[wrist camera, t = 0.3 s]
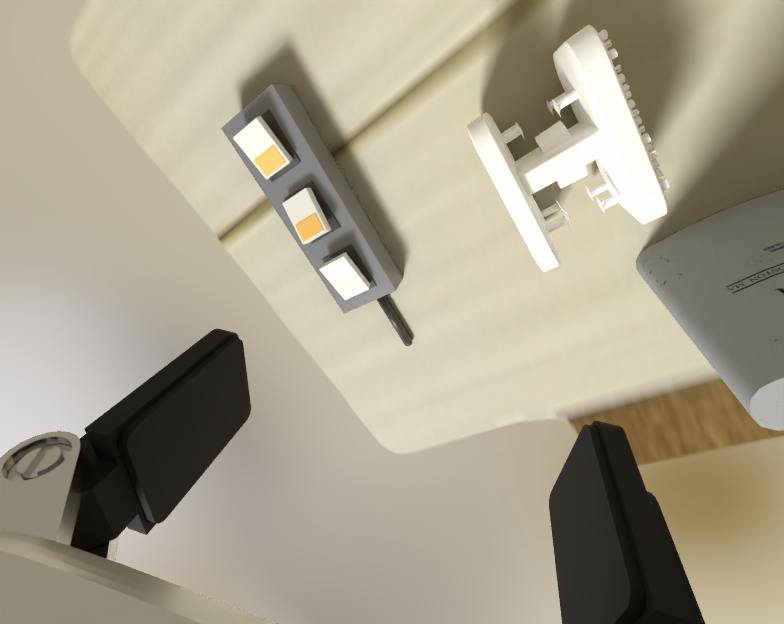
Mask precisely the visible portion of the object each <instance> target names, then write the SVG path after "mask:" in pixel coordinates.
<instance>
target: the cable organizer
mask: <svg viewBox="0 0 784 624" xmlns="http://www.w3.org/2000/svg"><path fill="white" fill-rule="evenodd" d="M606 39H608V33H607V31H606V30H605V29H603V30H602V31H601V32H599V33H598V32H597V31H596V30H595V29H594V28H593V27H592V26H591V25H587V26H586V27H584V28H583V29H582V30H580V31H579V32H577V33H576V34H575V35H573V36H572V37H570V38H569V39H568V40H566V41H565V42H564V43H563V44H562V45H561V46H560V47H559V48H558V49H557V50H556V51H555V52H554V54H553V60H554V65H555V68H556V72H557V74H558V77H559V80H560V82H561V84H562V87H563V89H564V91H565V92H564V93H562V94H561V95H559V96H558V97H556V98H555V99H553V100H552V101H550V102H547V101H548V99H547V100H546V102H547V105H548V108H549V110H550V111H551V112H552V114H553V109H554V108H555V110H556V111H557V113H558V114H559V115H560V110H561V109H562V108H564V107H565V106H567V105H568V104H570V105H571V107H572V109H573V111H574V114H575V116H576V118H577V120H578V123H577V124H576V125H574V126H572V127H571V128H569V129H567V128H566V127H565V125H564V124H563V123H562V122H561V121H558V122H557V123H555V124H554V125H552V126H551V127H549V128H548V129H547V130H545V131H544V132H542V133H541V134H539V135H538V136H536V137H535V140H536V142H537V144H538V146H539V147H538V148H536V149H534V150H533V151H531V152H529V153H528V154H526V155H524V156H523V157H521V158H520V159H518V160H516V161H515V160H514V158H513V156H512V154H511V152H510V150H509V148H508V146H507V143H508V142H510V141H512V140H513V139H515V138H516V137H518V136H519V135H521V134H522V136H523V132H522V129H521V128H520V126H519V125H518V124H517V123H516V124H515V125H514V126H512V127H510V128H509V129H507V130H506V131H504V132H503V133H501V132H500V130H499V129H498V127H497V125H496V123H495V122H494V120H493V119H492V117H491V116H490V115H489V114H488V113H487V112H486V113H484V114H482V115H481V116H479V117H478V118H476V119H475V120H474V121H472V122H471V123H469V124H468V131H469V135H470V137H471V140H472V142H473V144H474V146H475V149H476V151H477V153H478V154H479V156H480V158H481V160H482V162H483V164H484V166H485V168H486V169H487V171H488V173H489V175H490V177H491V179H492V181H493V183H494V184H495V186H496V188H497V190H498V192H499V194H500V196H501V198H502V199H503V201H504V203H505V205H506V207H507V209H508V211H509V213H510V214H511V216H512V218H513V220H514V222H515V224H516V226H517V228H518V229H519V231H520V233H521V235H522V237H523V239H524V241H525V242H526V244H527V246H528V248H529V250H530V252H531V254H532V256H533V257H534V259H535V261H536V262H537V264H538V265H539V267H540V268H541V269H542V270H543V271H544V272H546V271H548V270H550V269H552V268H555V267H557V266H559V265H560V261H559V257H558V254H557V251H556V248H555V245H554V242H553V240H552V237H551V234H550V232H551V231H553V230H555V229H557V228H559V227H561V226H563V225H565V224H567V223H568V225H569V227H570V222H569V216H568V214H567V213H566V212H565V211H564V210H563V209H562V208H561V206H560V204H559V203H558V202H557V203H556V204H554V205H552V206H550V207H548V208H547V209H545V210H543V211H540V209H539V207H538V205H537V203H536V201H535V199H534V197H533V195H532V194H534V193H535V192H537V191H539V190H541V189H543V188H544V187H546V186H548V185H550V184H552V183H553V182H555V181H556V182H557V184H558V186H559V188H560V189H562V188H564V187H566V186H568V185H570V184H571V183H573V182H575V181H577V180H579V179H581V178H582V177H584V176H586V175H587V170H586V167H585V165H586V164H588V163H590V162H591V161H593V160H595V161H596V163H597V166H598V168H599V170H600V172H601V175H602V177H603V179H604V181H605V182H604V183H603V184H601V185H599V186H597V187H595V188H593V189H591V190H589V189H588V188H587V187H586V189H587V193H588V195H589V196H590V197H591V198H592V197H593V196H595V195H597V194H599V193H601V192H603V191H605V190H607V189H609V191H610V193H611V195H612V197H610V198H608V199H606V200H604V201H602V202H600V199H599V200H598V198H597V197H596V198H597V201H598V205H599V207H600V208H601V209H602V211H603V212H604V210H605V209H606V208H608V207H610V206H612V205H614V204H616V203H619V204H620V205H621V206H622V207H623V208H625V209H626V210H627V211H628V212H629V213H630V214H631V215H632V216H634V217H635V218H636V219H637V220H638V221H639V222H640V223H642V224H646V223H648V222H650V221H653V220H655V219H657V218H659V217H661V216H664V215H666V214H667V210H668V208H667V201H666V197H665V194H664V191H663V190H665V189H667V188H669V185H668V182H667V180H666V179H664V180H662V179H659V177H661V176H663V173H662V171H661V170H660V169H659V168H656V167H658V166H659V163H658V161H657V160H656V159H655V158H656V157H657V156H656V155H655V152H656V150H653V148H652V145H651V144H650V143H649V142H651V139H650V136H649V135H648V134H647V133H645V134H643V135H641V133H642V132H644V131H646V130H645V129H644V125H643V126H641V127H639V128H638V125H640V124H641V123H642V120H641V118H640V116H638V114H639V111H638V110H637V109H635V110H633V108H634V107H635V102H634V100H632V99H630V100H627V99H628V98H630V97H631V96H632V95H631V92H630V90H629V91H627V90H628V89H629V87H630V86H628V84H627V83H626V84H625V85H623V84H622V83H624V82H625V81H626V80H625V76H624V75H623V74H622V73H620V74H619V75H617V73H618V72H620V71H621V70H622V69H620V68H621V66H620V64H619V65H618V66H616V67H614V65H613V62H612V60H613V59H614V58H616V57H617V56H618V54H617V52H616V50H615V48H612V49H611V50H610V51H608V50H607V48H609V47H610V46H612V44H611V41H610V39H609V40H608V41H607V42H605V43H604V42H603V41H605V40H606ZM621 84H622V85H621ZM626 91H627V92H626ZM553 115H554V114H553ZM554 117H555V116H554ZM560 117H561V115H560ZM515 122H516V121H515ZM523 138H524V136H523ZM524 140H525V139H524ZM585 186H586V185H585ZM592 200H593V198H592ZM556 201H557V200H556ZM559 209H560V210H561V212H562V214H563V215H564V217H562V218H560V219H558V220H556V221H554V222H552V223H550V224H548V225H547V223H546V221H545V219H544V217H546V216H548V215H550V214H552V213H554V212H556V211H558V210H559ZM604 213H605V212H604ZM570 229H571V228H570Z"/></svg>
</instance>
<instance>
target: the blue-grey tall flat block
mask: <svg viewBox="0 0 784 624" xmlns="http://www.w3.org/2000/svg"><path fill="white" fill-rule="evenodd" d="M636 267H637V270H638V272H639V274H640V275H641V276H642V278H643V279H644V280H645V281H646V283H647V284H648V285H649V286H650V288H651V289H652V290H653V292H654V293H655V294H656V295H657V297H658V298H659V299H660V300H661V302H662V303H663V304H664V306H665V307H666V308H667V309H668V311H669V312H670V313H671V314H672V316H673V317H674V318H675V320H676V321H677V322H678V323H679V325H680V326H681V327H682V328H683V330H684V331H685V332H686V334H687V335H688V336H689V337H690V339H691V340H692V341H693V342H694V344H695V345H696V346H697V348H698V349H699V350H700V351H701V353H702V354H703V355H704V356H705V358H706V359H707V360H708V362H709V363H710V364H711V365H712V367H713V368H714V369H715V370H716V372H717V373H718V374H719V376H720V377H721V378H722V379H723V381H724V382H725V383H726V385H727V386H728V387H729V388H730V390H731V391H732V392H733V393H734V395H735V396H736V397H737V399H738V400H739V401H740V402H741V404H742V405H743V406H744V407H745V409H746V410H747V411H748V413H749V414H750V415H751V416H752V418H753V419H754V420H755V421H756V422H757V423H758V424H759V425H760V426H761V427H765V428H769V429H773V430H776V431H780V430H784V189H782V190H779V191H775V192H772V193H768V194H765V195H762V196H760V197H757V198H754V199H751V200H749V201H746V202H743V203H741V204H738V205H735V206H732V207H730V208H727V209H725V210H722V211H720V212H718V213H716V214H713V215H711V216H709V217H707V218H704V219H702V220H700V221H698V222H695V223H693V224H691V225H689V226H687V227H685V228H683V229H682V230H680V231H678V232H676V233H674V234H672V235H670V236H668V237H666V238H665V239H663V240H661V241H659V242H657V243H655V244H653V245H651V246H649V247H648V248H646V249H645V250H644V251H642V252H641V253H640V254H639V256H638V258H637V260H636Z"/></svg>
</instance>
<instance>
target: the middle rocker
mask: <svg viewBox="0 0 784 624" xmlns="http://www.w3.org/2000/svg"><path fill="white" fill-rule="evenodd" d="M282 204H283V206H284V208H285V210H286V212H287V214H288V216H289V218H290V220H291V222H292V224H293V226H294V228H295V230H296V232H297V234H298V236H299V238H300V240H301V242H302V244H308V243H309V242H311V241H313V240H315V239H316V238H318V237H320V236H321V235H323V234H325V233H327V232H328V231H330V230H331V228H330V226H329V224H328V222H327V220H326V218H325V216H324V214H323V212H322V210H321V208H320V206H319V204H318V202H317V200H316V197H315V195H314V193H313V191H312V189H311V188H305V189H303V190H302V191H300V192H299V193H297V194H296V195H294V196H293V197H291V198H290V199H288V200H287V201H285V202H284V203H282Z"/></svg>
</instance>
